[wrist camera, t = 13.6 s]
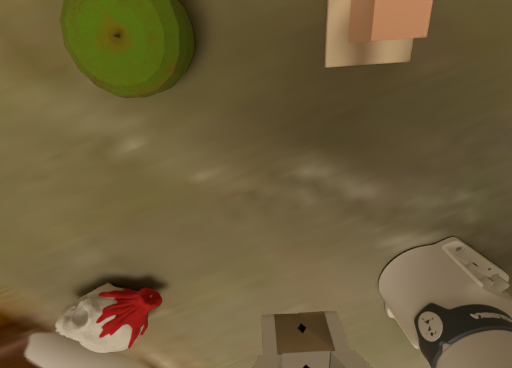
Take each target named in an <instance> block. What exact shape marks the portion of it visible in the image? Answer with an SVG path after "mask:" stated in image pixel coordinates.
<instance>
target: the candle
mask: <svg viewBox="0 0 512 368" xmlns="http://www.w3.org/2000/svg"><path fill="white" fill-rule="evenodd" d="M161 303H162V298H161V296H160V294H159V293H158V292H157V291H154V290H153V289H151V288H142V289H140V290H139V291H135V290H133V289H128V288H124V287H123V288H118V287H114V286H113V285H111V284H110V283H106V284H105V285H103V286H101V287H98V288H96V289H95V290H93V291H91V292H90V293H87V294H86V295H84V296H82V297H80V298H79V299H78V300H76V301H75V302H74V303H73V304H71V305H69V306H67V307H66V308H65V309H64V310H63V311H62V313H61V315H60V316H59V318H58V319H57V321H56V325H55V327H56V328H57V329H56V332H59V331H60V332H59V334H61V335H66V337H67V338H69V337H70V338H72V339H74V340H77V341H79V342H80V343H81V345H82V346H84V347H86V348H87V349H89V350H92V351H95V352H99V353H107V352H116V351H122V350H125V349H127V348H130V347H131V346H132V344H133V343H134V342H135V341H136V340H137V338H138V337H139V335H141V334H142V335H143V334H144V332H145V330H146V328H147V326H148V313H149V311H150V310H151V309H154V308H157V307H159V306H160V304H161Z"/></svg>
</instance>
